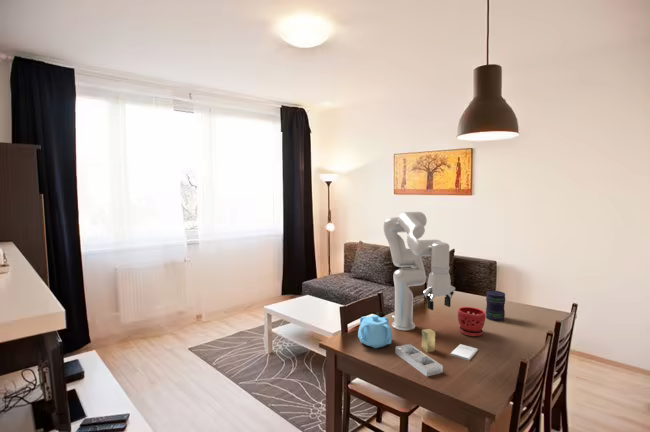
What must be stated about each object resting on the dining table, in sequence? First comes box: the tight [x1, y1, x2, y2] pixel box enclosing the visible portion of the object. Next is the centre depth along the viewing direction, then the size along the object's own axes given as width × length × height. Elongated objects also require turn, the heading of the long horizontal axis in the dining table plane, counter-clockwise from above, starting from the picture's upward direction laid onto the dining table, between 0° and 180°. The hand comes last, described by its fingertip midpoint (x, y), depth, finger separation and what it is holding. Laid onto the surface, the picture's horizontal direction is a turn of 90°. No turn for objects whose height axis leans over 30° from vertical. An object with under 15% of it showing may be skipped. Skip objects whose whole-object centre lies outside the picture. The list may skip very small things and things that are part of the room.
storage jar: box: [485, 290, 506, 323], centre depth 204 cm, size 10×10×15 cm
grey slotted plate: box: [394, 343, 444, 377], centre depth 154 cm, size 22×8×3 cm, turn 23°
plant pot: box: [457, 306, 486, 337], centre depth 184 cm, size 13×13×12 cm
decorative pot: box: [357, 314, 393, 349], centre depth 173 cm, size 16×16×14 cm
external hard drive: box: [449, 343, 479, 362], centre depth 162 cm, size 2×8×12 cm
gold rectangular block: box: [421, 328, 436, 353], centre depth 165 cm, size 4×4×9 cm
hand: (439, 307), depth 160 cm, fingers open, 9 cm apart
